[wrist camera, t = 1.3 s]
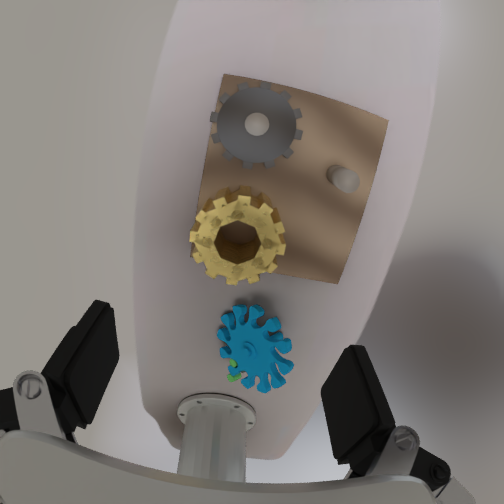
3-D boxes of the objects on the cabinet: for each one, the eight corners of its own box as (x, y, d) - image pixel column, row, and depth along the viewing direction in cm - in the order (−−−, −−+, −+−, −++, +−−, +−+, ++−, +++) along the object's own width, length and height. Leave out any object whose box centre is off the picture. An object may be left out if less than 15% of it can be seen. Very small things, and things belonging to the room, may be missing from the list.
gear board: (334, 278, 29) (347, 303, 24) (192, 251, 27) (181, 274, 23) (382, 120, 22) (407, 120, 18) (224, 76, 20) (218, 64, 16)
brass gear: (291, 247, 26) (297, 267, 22) (218, 273, 27) (213, 295, 23) (263, 173, 23) (266, 180, 19) (185, 204, 24) (173, 217, 20)
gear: (238, 285, 27) (304, 366, 22) (275, 276, 31) (334, 343, 27) (199, 345, 32) (247, 411, 28) (233, 333, 37) (278, 391, 32)
